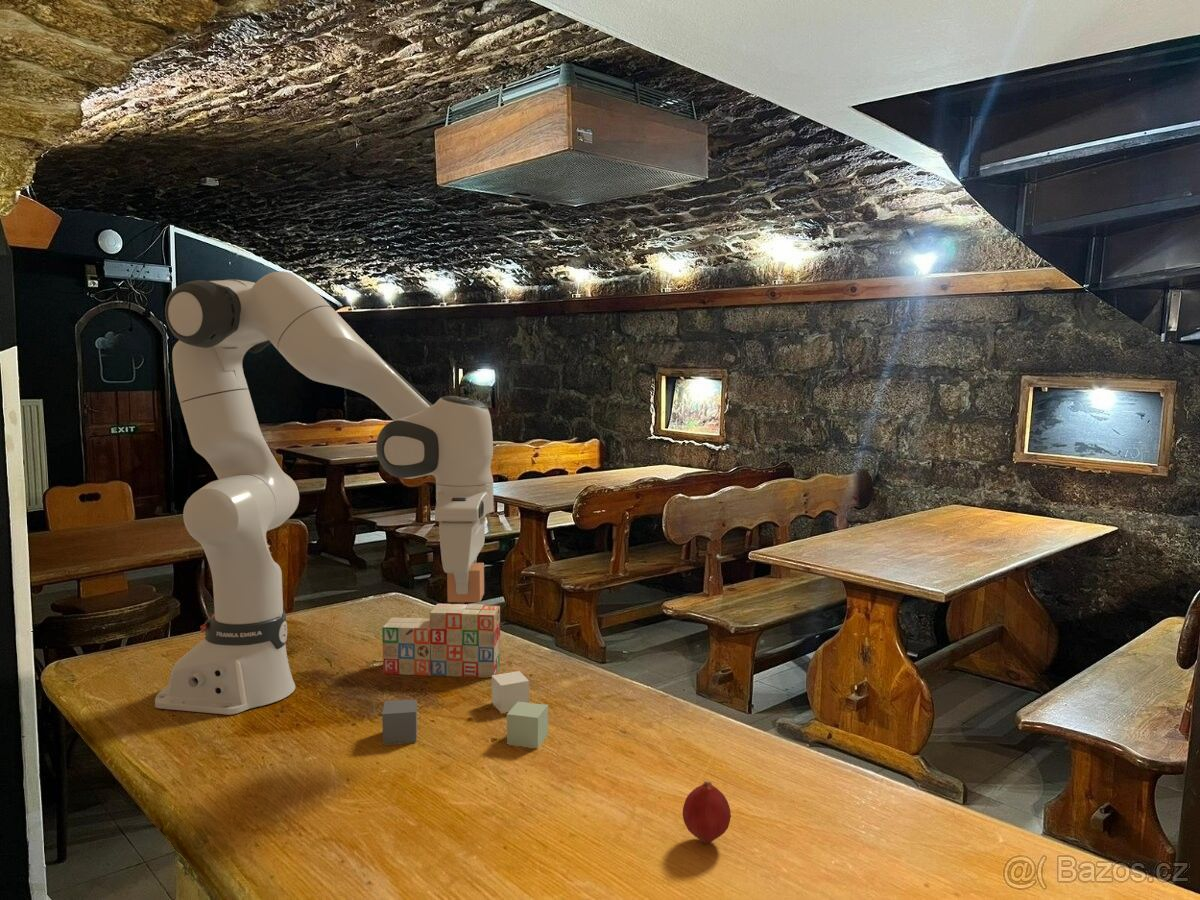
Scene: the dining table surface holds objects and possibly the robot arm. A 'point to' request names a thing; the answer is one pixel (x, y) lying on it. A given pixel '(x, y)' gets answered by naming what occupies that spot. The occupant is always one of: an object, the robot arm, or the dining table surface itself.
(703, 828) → the onion
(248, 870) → the dining table surface
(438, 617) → the stack of blocks
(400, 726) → the charcoal cube
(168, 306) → the robot arm
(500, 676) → the off-white cube
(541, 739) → the sage green cube
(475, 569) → the terracotta cube
